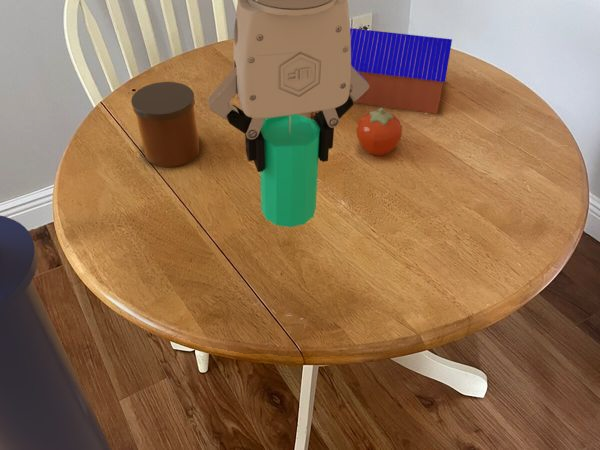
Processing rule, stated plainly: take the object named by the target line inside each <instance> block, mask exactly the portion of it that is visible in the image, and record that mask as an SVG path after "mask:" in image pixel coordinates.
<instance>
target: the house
mask: <svg viewBox="0 0 600 450" xmlns="http://www.w3.org/2000/svg"><path fill="white" fill-rule="evenodd" d="M350 37H351V65H352V66H353V67H354V68H355V69H356V70H357V71H358V72H359V73H360V74H361V75H362V76H363V77H364V78H365V79H366V81H367V82H368V84H369V89H368V90H367V91H366V92H365V93H364V94H363V95H362V96H361V97H360V98H359V99H358V100H357V101H356V100H355V101H354V102H353V104H360V105H361V104H362V105H368V106H377V107H381V108H391V109H399V110H407V111H413V112H421V113H429V114H436V115H437V114H438V110H439V104H440V100H441V94H442V88H443V84H444V83H445V82H446V78H447V73H448V67H449V60H450V54H451V49H452V42H453V39H452V38H446V37H445V38H443V37H434V36H428V35H427V36H426V35H418V34H409V33H408V34H406V33H398V32H390V31H382V30H381V31H380V30H371V29H361V28H354V27H350Z"/></svg>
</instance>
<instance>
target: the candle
mask: <svg viewBox="0 0 600 450" xmlns="http://www.w3.org/2000/svg"><path fill="white" fill-rule="evenodd" d="M261 133H262V135H263V138H264V145H265V170H263V171H262V172H259V173H260V175H259V177H260V179H259V180H260V205H261V206H260V210H261V212H262V215H263V216H264V219H265V220H267V221H268V222H270V223H272V224H273V225H275V226H279V227H285V228H293V227H298V226H302V225H305V224H306V223H308V222H309V221H311V219H312V218H314V217H315V211H316V209H317V191H318V176H319V175H318V174H319V161H320V159H319V141H320V128H319V126H318V124H317V123H316V122H315V120H314V119H313V118H311V119H310V118H307V117H305V116H301V115H296V114H295V115H288V116H281V117H273V118H265V120H264V123H263V125H262V128H261Z"/></svg>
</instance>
